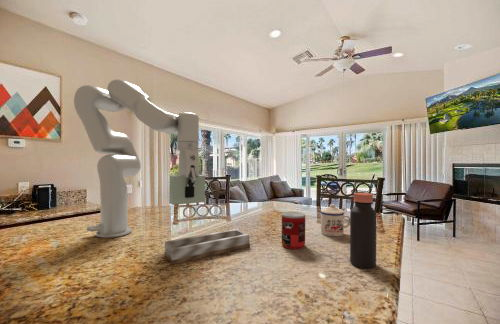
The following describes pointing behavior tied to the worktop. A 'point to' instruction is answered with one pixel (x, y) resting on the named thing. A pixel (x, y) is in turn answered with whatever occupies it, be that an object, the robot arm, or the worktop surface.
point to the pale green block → (179, 190)
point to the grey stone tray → (205, 245)
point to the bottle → (363, 232)
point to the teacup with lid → (333, 221)
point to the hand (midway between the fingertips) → (187, 196)
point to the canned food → (293, 230)
